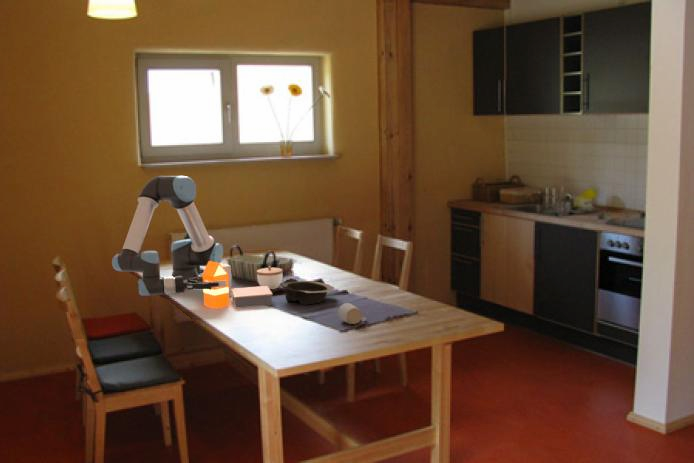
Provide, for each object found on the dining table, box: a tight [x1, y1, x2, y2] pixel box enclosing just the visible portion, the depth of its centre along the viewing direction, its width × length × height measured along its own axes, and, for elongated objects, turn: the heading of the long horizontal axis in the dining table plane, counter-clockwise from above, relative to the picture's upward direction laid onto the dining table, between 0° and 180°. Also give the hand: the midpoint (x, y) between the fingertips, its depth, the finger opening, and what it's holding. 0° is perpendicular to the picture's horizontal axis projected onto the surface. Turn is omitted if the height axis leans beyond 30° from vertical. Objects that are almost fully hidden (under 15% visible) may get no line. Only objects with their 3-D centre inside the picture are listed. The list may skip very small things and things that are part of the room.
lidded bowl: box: [256, 265, 284, 290], centre depth 390 cm, size 13×13×11 cm
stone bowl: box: [280, 278, 335, 306], centre depth 364 cm, size 25×25×9 cm
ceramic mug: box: [337, 302, 367, 325], centre depth 326 cm, size 11×8×8 cm
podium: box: [231, 285, 274, 309], centre depth 365 cm, size 17×17×5 cm
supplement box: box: [220, 262, 233, 298], centre depth 376 cm, size 9×9×15 cm
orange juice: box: [202, 261, 230, 309], centre depth 359 cm, size 8×9×20 cm
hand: (224, 280), depth 360 cm, fingers closed on orange juice, 10 cm apart
